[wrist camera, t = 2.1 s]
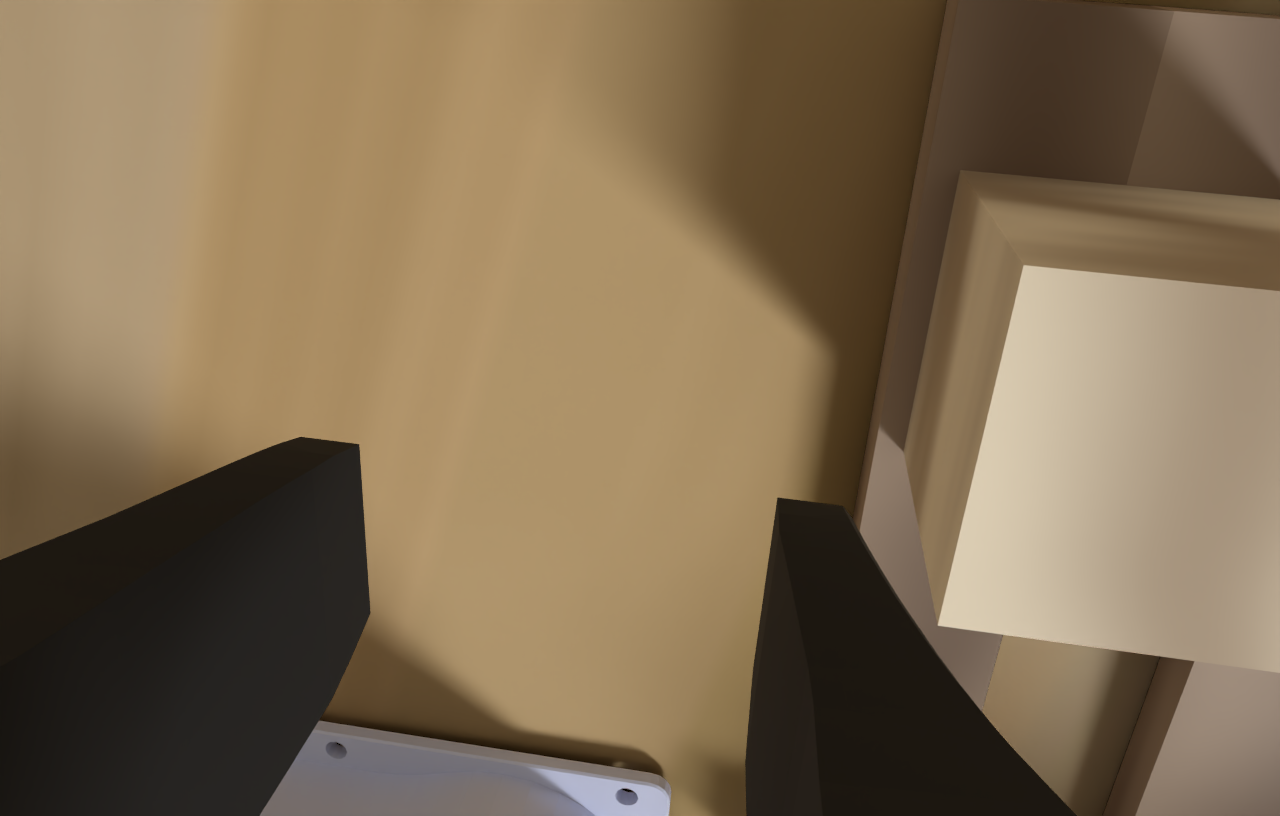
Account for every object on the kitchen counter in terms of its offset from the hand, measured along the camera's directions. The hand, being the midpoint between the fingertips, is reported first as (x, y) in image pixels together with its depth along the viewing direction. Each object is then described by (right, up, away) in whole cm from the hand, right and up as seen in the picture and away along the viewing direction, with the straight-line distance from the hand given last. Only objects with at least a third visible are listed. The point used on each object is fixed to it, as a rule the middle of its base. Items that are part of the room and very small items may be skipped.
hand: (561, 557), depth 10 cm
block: (+8, +3, +7) cm, 11 cm away
